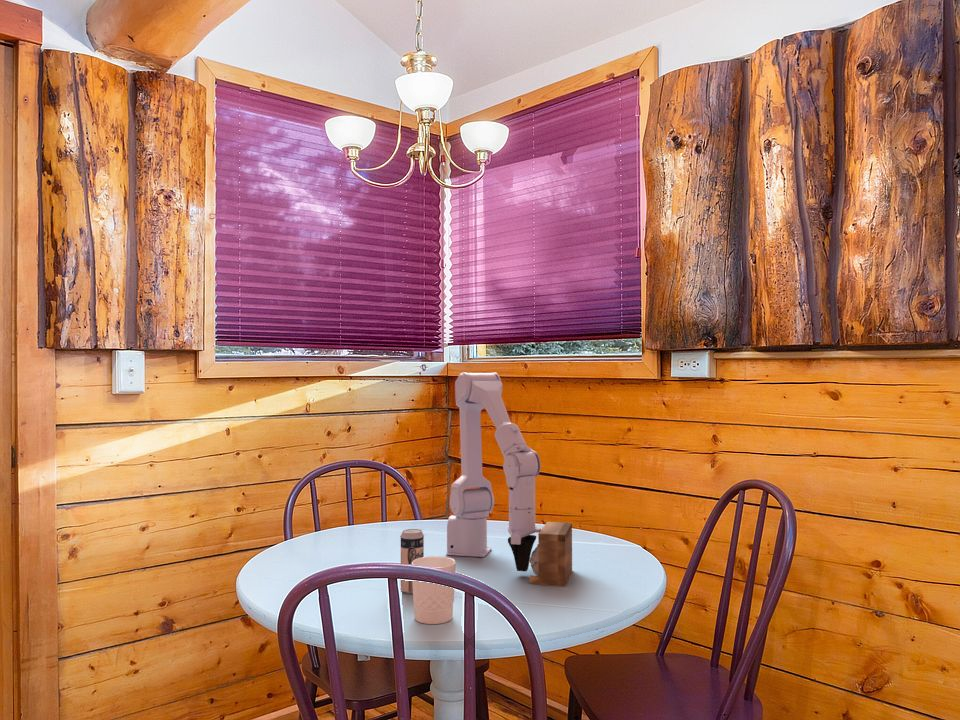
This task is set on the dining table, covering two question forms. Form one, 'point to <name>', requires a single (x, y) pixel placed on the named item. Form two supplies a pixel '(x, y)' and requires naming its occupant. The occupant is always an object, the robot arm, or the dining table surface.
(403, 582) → the beer can
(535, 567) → the pink clay lump
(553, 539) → the upright wooden block
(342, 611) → the dining table surface
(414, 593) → the pink cup
